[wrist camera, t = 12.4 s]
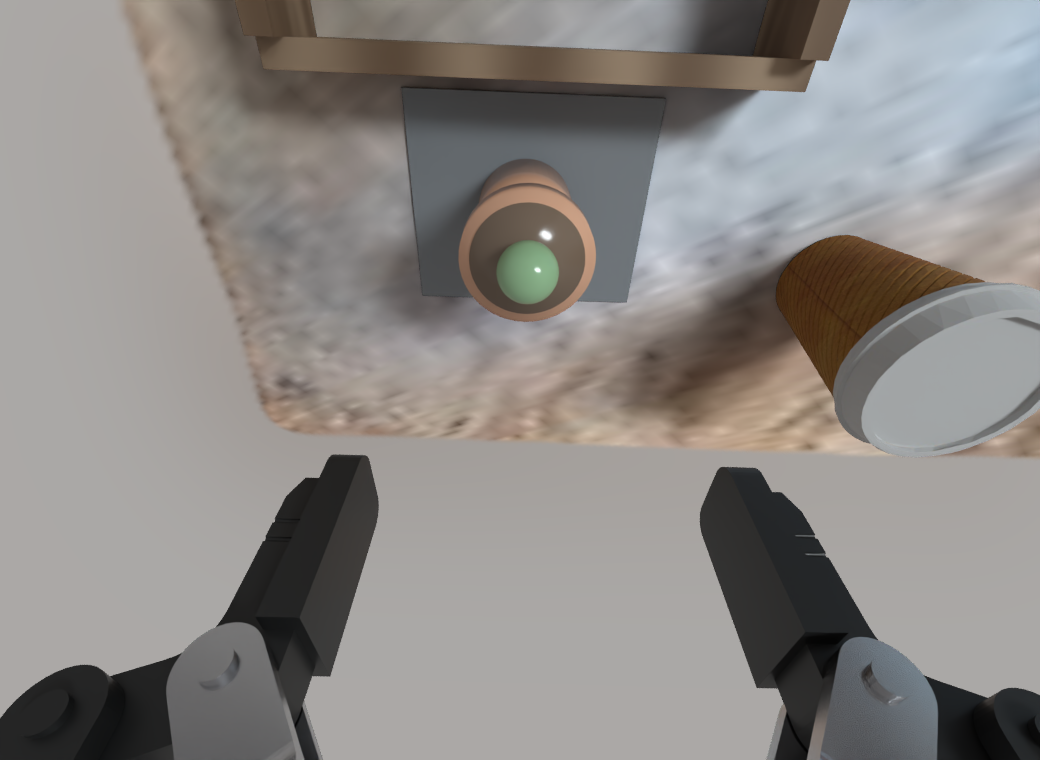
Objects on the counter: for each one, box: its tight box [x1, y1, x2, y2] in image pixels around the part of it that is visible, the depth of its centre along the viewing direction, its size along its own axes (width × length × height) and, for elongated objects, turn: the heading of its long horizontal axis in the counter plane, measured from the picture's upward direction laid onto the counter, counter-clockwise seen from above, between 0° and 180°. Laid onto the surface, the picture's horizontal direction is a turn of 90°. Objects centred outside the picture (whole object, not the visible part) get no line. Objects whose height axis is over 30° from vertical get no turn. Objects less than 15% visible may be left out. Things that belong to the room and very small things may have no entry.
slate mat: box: [402, 87, 666, 302], centre depth 28 cm, size 14×12×1 cm
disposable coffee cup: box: [776, 235, 1040, 457], centre depth 26 cm, size 10×10×12 cm
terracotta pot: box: [459, 159, 596, 322], centre depth 24 cm, size 6×6×11 cm
